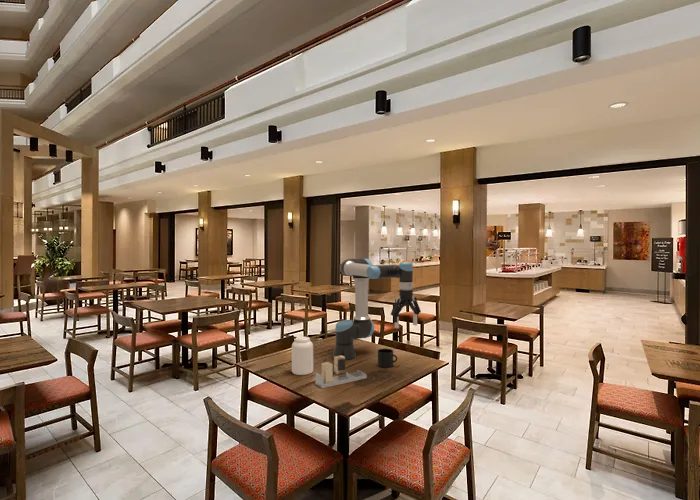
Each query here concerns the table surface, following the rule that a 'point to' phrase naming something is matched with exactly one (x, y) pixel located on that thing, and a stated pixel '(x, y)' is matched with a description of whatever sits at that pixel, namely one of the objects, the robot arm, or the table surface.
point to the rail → (329, 380)
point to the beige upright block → (339, 364)
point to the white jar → (302, 356)
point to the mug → (386, 358)
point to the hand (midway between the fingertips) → (405, 326)
